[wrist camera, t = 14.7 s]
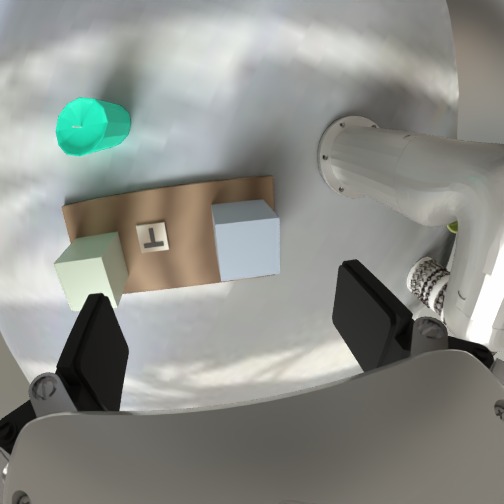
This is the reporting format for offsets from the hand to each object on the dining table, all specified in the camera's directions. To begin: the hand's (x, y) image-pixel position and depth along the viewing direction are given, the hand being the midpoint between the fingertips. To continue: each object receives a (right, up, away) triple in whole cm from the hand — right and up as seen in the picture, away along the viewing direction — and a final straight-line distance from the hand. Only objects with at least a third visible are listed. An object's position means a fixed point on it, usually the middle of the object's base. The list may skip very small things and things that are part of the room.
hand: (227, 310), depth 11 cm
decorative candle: (+37, -3, +41) cm, 55 cm away
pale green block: (-21, +1, +26) cm, 33 cm away
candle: (-17, +19, +19) cm, 32 cm away
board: (-11, +4, +28) cm, 30 cm away
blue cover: (-1, +6, +28) cm, 28 cm away
